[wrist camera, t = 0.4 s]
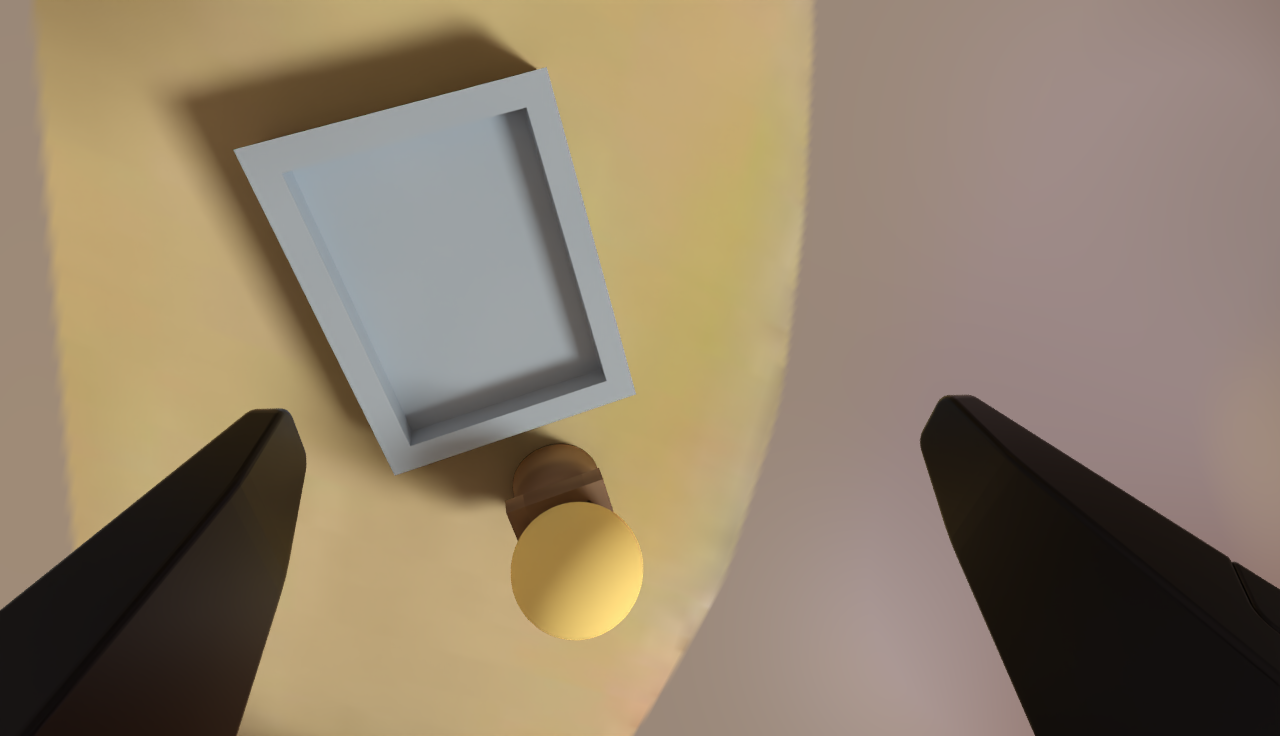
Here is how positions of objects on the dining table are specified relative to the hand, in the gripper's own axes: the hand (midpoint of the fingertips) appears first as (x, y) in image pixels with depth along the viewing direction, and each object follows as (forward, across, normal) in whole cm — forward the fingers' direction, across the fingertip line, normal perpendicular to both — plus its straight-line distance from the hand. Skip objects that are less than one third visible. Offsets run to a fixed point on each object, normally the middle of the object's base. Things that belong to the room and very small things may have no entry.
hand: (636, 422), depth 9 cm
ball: (+5, 0, +11) cm, 12 cm away
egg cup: (+9, +1, +13) cm, 16 cm away
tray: (+12, +4, +5) cm, 13 cm away
